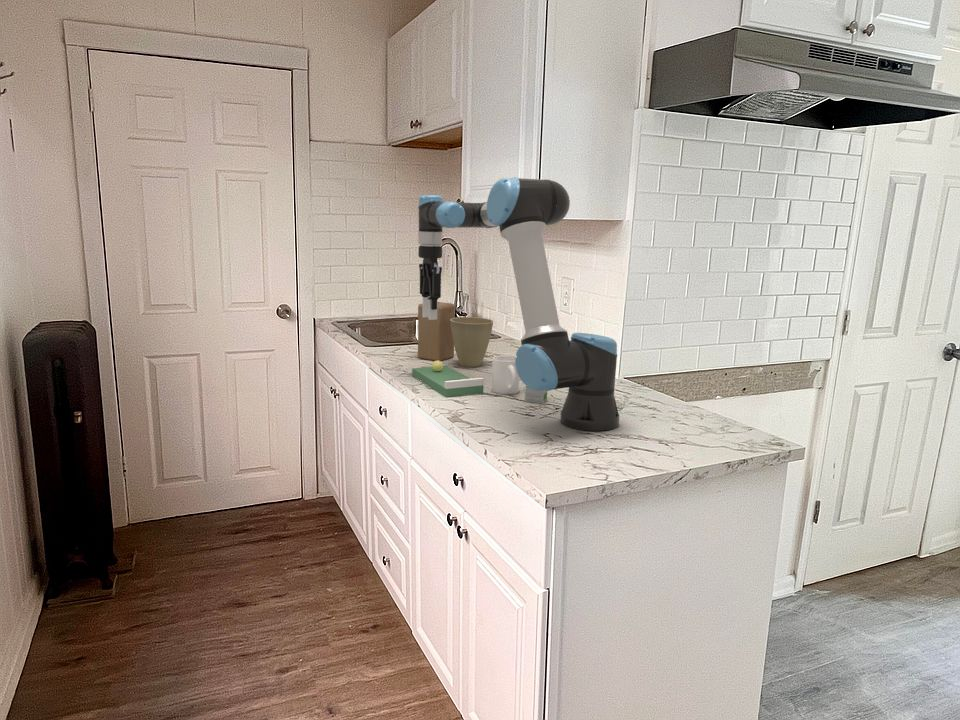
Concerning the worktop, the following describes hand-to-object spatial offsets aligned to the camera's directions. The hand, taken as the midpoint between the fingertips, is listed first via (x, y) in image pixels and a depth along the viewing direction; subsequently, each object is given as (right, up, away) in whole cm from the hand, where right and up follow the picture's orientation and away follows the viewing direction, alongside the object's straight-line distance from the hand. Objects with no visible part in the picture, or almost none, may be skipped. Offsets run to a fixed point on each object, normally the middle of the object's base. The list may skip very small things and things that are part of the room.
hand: (429, 318), depth 225 cm
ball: (+3, -16, -3) cm, 16 cm away
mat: (+6, -21, -8) cm, 23 cm away
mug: (+24, -24, -17) cm, 38 cm away
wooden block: (0, -13, +29) cm, 32 cm away
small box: (+32, -25, -24) cm, 47 cm away
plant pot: (+13, -16, +19) cm, 28 cm away
